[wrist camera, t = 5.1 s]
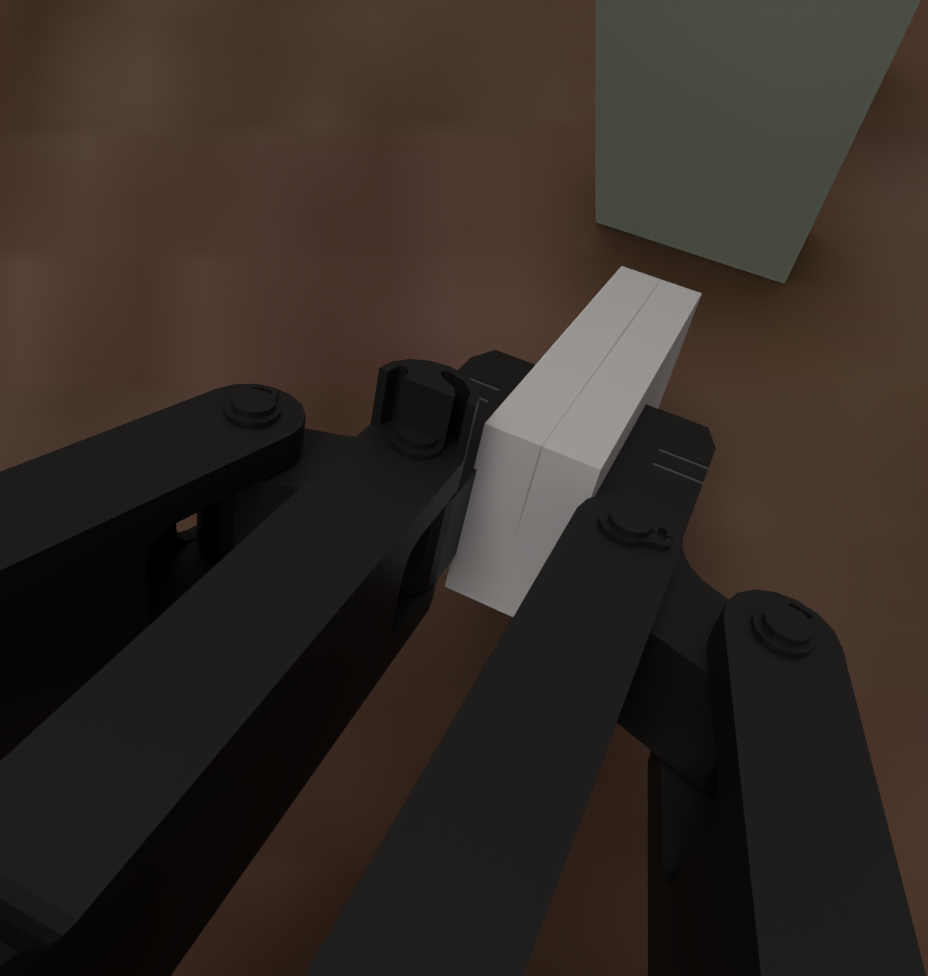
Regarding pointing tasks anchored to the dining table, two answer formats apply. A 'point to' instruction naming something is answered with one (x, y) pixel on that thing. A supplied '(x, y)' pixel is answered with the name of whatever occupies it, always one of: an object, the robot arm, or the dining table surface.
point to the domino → (733, 117)
